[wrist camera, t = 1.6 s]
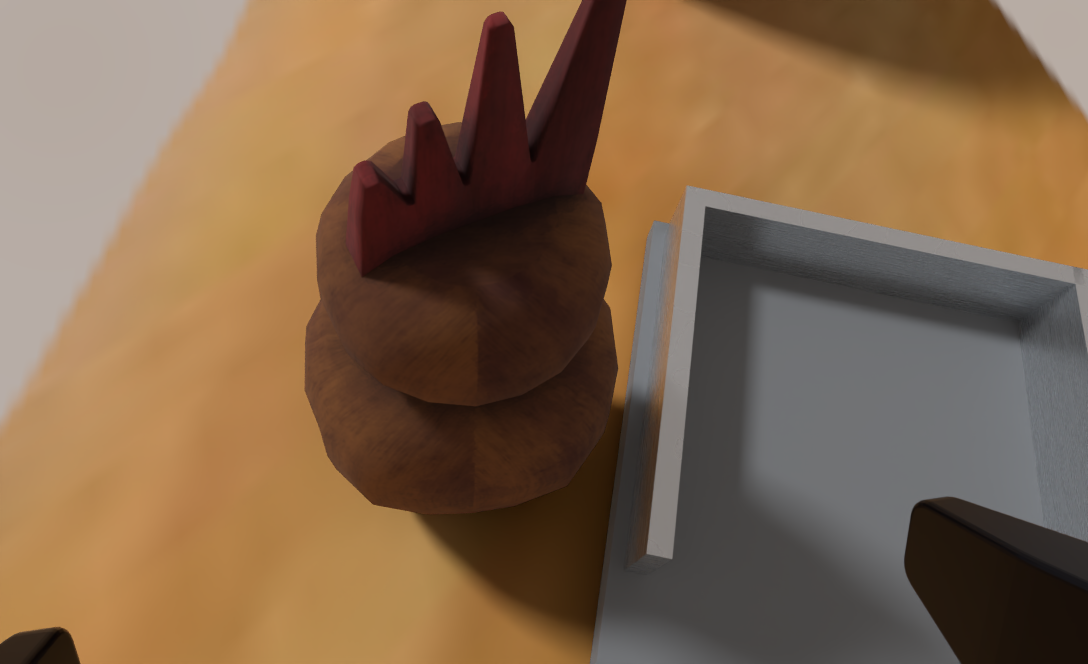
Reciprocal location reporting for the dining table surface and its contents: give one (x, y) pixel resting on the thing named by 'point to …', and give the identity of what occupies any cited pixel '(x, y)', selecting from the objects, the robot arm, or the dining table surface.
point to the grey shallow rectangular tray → (826, 430)
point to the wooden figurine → (472, 290)
